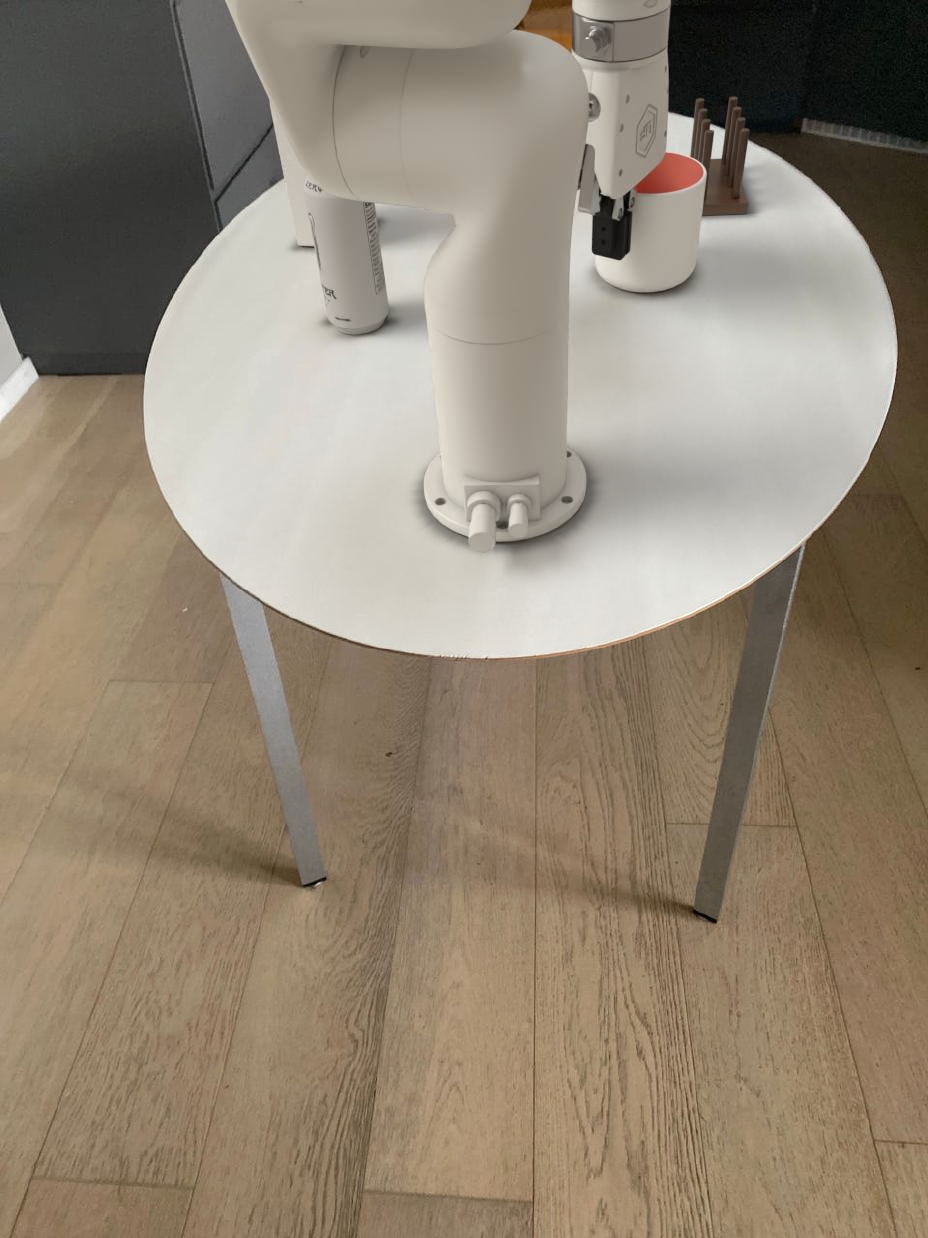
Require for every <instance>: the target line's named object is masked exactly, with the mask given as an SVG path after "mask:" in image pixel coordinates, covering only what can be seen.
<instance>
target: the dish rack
mask: <svg viewBox="0 0 928 1238" xmlns="http://www.w3.org/2000/svg"><path fill="white" fill-rule="evenodd" d="M738 98H739V97H737V96H729V98H728V106H727V114H726V120H725V129H724V130H725V131H724V137H723V145H722V151H721V158H712V153H713V145H714V136H715V130H713V129H711V121H712V120H711V119H709V118H708V109H707V108H705V99H704V98H702V97H699V98H696V99H695V106H694V116H693V125H692V135H691V143H690V152H689V153H690V154H689V157H691V158H694V159H696V160H697V161H699V162H700V163H701V164H702V165H703V166H704V167H705V169H706V172H707V176H706V184H705V193H704V201H703V210H702V217H703V216H726V215H746V214H748V210H749V199H748V197H747V194H746V191H745V188H744V184H743V180H744V179H743V178H744V172H745V164H746V158H747V151H748V144H749V137H750V129H749V128H746V127H745V126H746V118H745V117H742V107H740V106H738Z"/></svg>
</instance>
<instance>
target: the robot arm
mask: <svg viewBox="0 0 928 1238" xmlns="http://www.w3.org/2000/svg"><path fill="white" fill-rule="evenodd" d="M224 1H225V4H226V6H227V9H228V11H229V13H230V16H231V18H232V21H233V23H234V26H235V29H236V30H237V33H238V34H239V36H240V39H241V41H242V43H243V47H245V50H246V52H247V55H248V56H249V58H250V61H251V63H252V66H253V68H254V70H255V72H256V74H257V76H258V78H259V81H260V83H261V85H262V86H263V87H262V88H263V89H264V91H265V93H266V96H267V98H268V100H269V103H270V102H271V104H272V106H273V109H274V111H275V113H276V115H277V117H278V119H279V122H280V124H281V126H282V128H283V130H284V132H285V135H286V137H287V139H288V141H289V143H290V145H291V147H292V149H293V151H294V153H295V155H296V157H297V159H298V161H299V162H300V164H301V166H302V167H303V169H304V170H305V172H306V173H307V174H308V176H309V177H310V178H311V180H312V181H313V182H314V183H315V184H316V185H318V186H319V187H320V188H321V189H323V190H324V191H326V192H328V193H330V194H332V195H334V196H337V197H341V198H345V199H350V200H355V201H362V202H371V203H375V204H381V205H389V206H397V207H398V206H400V207H408V208H414V209H415V208H416V209H423V210H424V211H430V212H437V213H442V214H446V215H448V216H449V217H451V218H452V219H453V221H454V227H453V228H452V230H450V231H449V233H448V234H447V236H446V237H445V238H444V239H443V240H442V242H441V243H440V244H439V245H438V246H437V248H436V249H435V252H434V253H433V254H432V255H431V258H430V260H429V262H428V264H427V266H426V269H425V273H424V279H423V302H424V303H423V304H424V312H425V318H426V319H425V320H426V327H427V328H426V329H427V336H428V348H429V357H430V367H431V377H432V383H433V384H432V385H433V393H434V394H433V395H434V404H435V413H436V414H435V415H436V425H437V433H438V442H439V453H437V454H436V455H435V456H434V458H433V459H432V461H431V462H430V463H429V465H428V467H427V469H426V471H425V474H424V478H423V492H424V493H423V494H424V499H425V502H426V505H427V508H428V509H429V511H430V513H431V514H432V517H434V518H435V519H436V520H437V521H438V522H439V523H440V524H442V526H444V527H446V528H448V529H449V530H452V531H453V532H455V533H457V534H459V535H463V536H465V537H467V538H468V547H470V549H471V550H473V551H474V552H476V553H484V554H485V553H488V552H490V551H492V550H493V549H494V548H495V546H496V543H497V542H500V543H501V542H516V541H522V540H529V539H532V538H535V537H538V536H539V537H540V536H541V535H545V534H547V533H549V532H551V531H553V530H555V529H557V528H559V527H561V526H562V525H564V524H565V523H566V522H568V521H570V520H571V518H573V516H574V515H575V514H576V513H577V512H578V511H579V509H580V507H581V506H582V504H583V502H584V501H585V496H586V493H587V478H588V477H587V472H586V468H585V466H584V463H583V462H582V460H581V458H580V457H579V456H578V455H577V454H576V452H575V451H574V450H573V449H572V448H570V447H569V446H568V402H569V401H568V396H569V394H568V393H569V340H570V339H569V336H570V335H569V333H570V331H569V330H570V276H571V275H570V271H571V250H572V249H571V248H572V234H573V223H574V215H575V206H576V200H577V192H578V191H579V195H578V204H577V211H578V213H584V214H588V215H591V219H592V224H591V252H592V254H593V255H594V256H595V255H598V256H602V257H607V258H611V259H615V260H622V259H623V258H624V257H625V255H627V254H628V253H629V252H630V246H631V229H632V212H633V211H628V209H630V210H631V209H633V207H634V205H635V200H636V192H637V184H638V183H639V182H640V181H641V180H642V179H643V178H644V177H646V176H647V175H648V174H649V173H650V172H651V171H652V170H653V169H654V168H655V167H656V166H657V165H658V164H659V163H660V162H661V161H662V159H663V157H664V155H665V152H667V143H668V141H667V140H668V125H669V124H668V123H669V94H670V93H669V92H670V91H669V88H670V86H669V84H670V79H669V76H670V75H669V55H668V45H669V33H670V20H671V7H672V0H571V3H572V4H571V51H569V50H568V49H567V48H566V47H564V46H563V45H562V44H561V43H559V42H557V41H555V40H553V39H551V38H549V37H547V36H544V35H540V34H536V33H533V32H529V31H525V30H520V29H515V28H516V27H517V26H518V25H520V23H521V21H522V20H523V19H524V17H525V16H526V15H527V13H528V11H529V9H530V7H531V3H532V1H533V0H224ZM601 193H603V194H601Z"/></svg>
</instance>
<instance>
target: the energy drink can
mask: <svg viewBox="0 0 928 1238" xmlns="http://www.w3.org/2000/svg"><path fill="white" fill-rule="evenodd" d="M303 189H304V194H305V200H306V205H307V210H308V215H309V221H310V226H311V231H312V237H313V242H314V246H313V247H314V252H315V257H316V262H317V268H318V272H319V273H318V274H319V278H320V284H321V288H322V294H323V299H324V305H325V310H326V315H327V319H328V321H329V322H330V323H331V324H332V325H333V326H334V327H335V328H336V330H337V331H339V332H341V333H342V334H346V335H365V334H368V333H371V332H373V331H376V330H378V329H379V328H381V326H382V325H384V323H385V319H386V317H387V316H388V315H389V312H390V307H389V298H388V292H387V283H386V277H385V269H384V263H383V262H384V261H383V254H382V246H381V241H380V233H379V224H378V218H377V217H378V216H377V210H376V203H371V202H362V201H355V200H350V199H345V198H341V197H337V196H334V195H332V194H330V193H328V192H326V191H324V190H323V189H321V188H320V187H319V186H318V185H316V184H315V183H314V182H313V181H312V180H311V178H310V177H309V176H308V174H307V177H306V180H305V183H304V187H303Z"/></svg>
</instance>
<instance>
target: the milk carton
mask: <svg viewBox="0 0 928 1238" xmlns="http://www.w3.org/2000/svg"><path fill="white" fill-rule="evenodd" d="M269 107H270V112H271V118H272V123H273V129H274V133H275V138H276V143H277V148H278V154H279V157H280V163H281V168H282V174H283V179H284V184H285V188H286V193H287V198H288V203H289V209H290V213H291V218H292V224H293V228H294V233H295V238H296V243H297V246H299V247H300V246H301V247H314V242H313V237H312V231H311V226H310V221H309V215H308V210H307V205H306V200H305V194H304V189H303V187H304V183H305V180H306V177H307V173H306V172H305V170H304V169H303V167H302V166H301V164H300V162H299V161H298V159H297V157H296V155H295V153H294V151H293V149H292V147H291V145H290V143H289V141H288V139H287V137H286V135H285V132H284V130H283V128H282V126H281V124H280V122H279V119H278V117H277V115H276V113H275V111H274V109H273V106H272V104H271V102H270V101H269Z"/></svg>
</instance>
